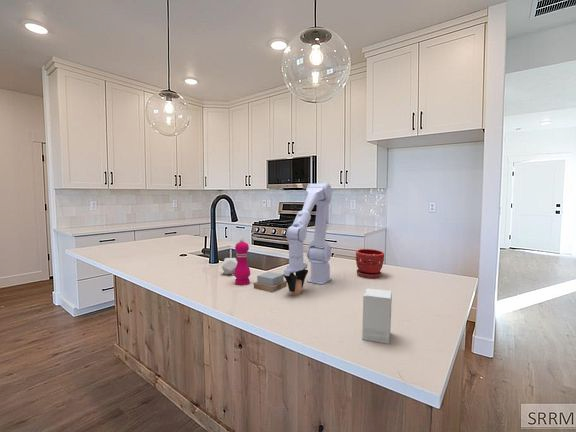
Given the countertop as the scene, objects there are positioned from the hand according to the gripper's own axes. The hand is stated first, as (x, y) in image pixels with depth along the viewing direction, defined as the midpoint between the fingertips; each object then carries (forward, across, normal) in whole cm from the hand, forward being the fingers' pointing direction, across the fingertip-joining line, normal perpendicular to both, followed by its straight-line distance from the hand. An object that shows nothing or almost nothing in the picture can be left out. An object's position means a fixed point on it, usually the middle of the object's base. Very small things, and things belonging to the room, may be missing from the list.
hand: (296, 289), depth 126 cm
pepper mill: (+2, +2, -27) cm, 27 cm away
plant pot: (+2, -41, +16) cm, 44 cm away
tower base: (+2, 0, -13) cm, 13 cm away
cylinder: (+2, 0, 0) cm, 2 cm away
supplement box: (+2, +19, +39) cm, 43 cm away
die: (+2, -6, -42) cm, 42 cm away
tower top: (-1, 0, -13) cm, 13 cm away
